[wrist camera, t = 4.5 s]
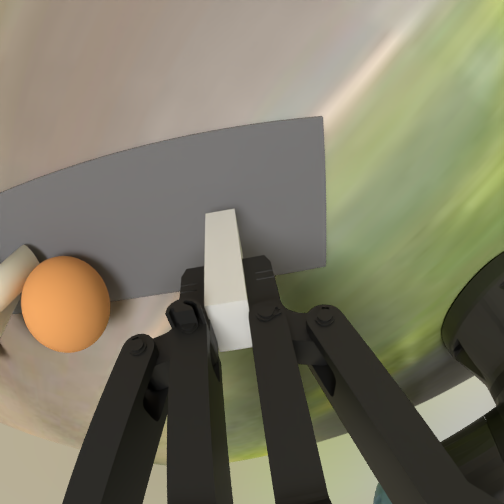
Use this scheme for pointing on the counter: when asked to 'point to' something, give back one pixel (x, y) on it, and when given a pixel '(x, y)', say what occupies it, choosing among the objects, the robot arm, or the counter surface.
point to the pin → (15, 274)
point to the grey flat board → (178, 205)
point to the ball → (65, 304)
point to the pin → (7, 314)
